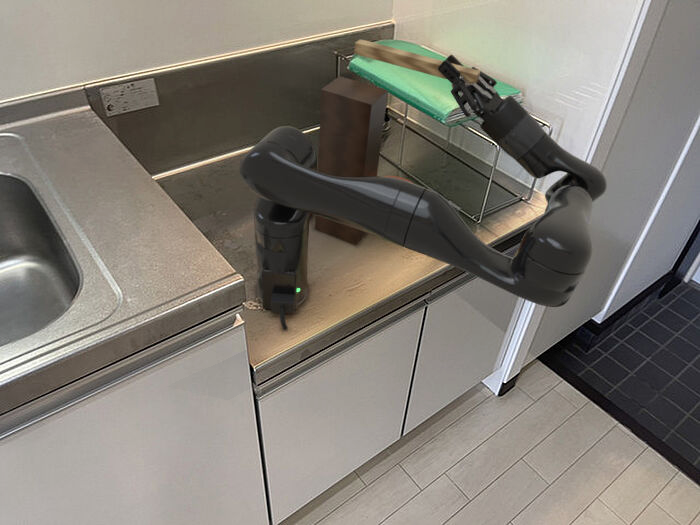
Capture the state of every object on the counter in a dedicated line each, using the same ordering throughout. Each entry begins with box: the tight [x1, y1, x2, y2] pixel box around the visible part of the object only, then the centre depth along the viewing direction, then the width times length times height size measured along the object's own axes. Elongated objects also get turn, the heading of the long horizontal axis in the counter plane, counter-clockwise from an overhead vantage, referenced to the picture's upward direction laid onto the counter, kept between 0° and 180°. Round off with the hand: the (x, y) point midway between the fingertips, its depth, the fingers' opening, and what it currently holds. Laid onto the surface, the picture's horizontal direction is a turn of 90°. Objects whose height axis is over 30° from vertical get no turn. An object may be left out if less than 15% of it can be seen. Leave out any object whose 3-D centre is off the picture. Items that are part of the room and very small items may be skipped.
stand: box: [314, 75, 389, 246], centre depth 108 cm, size 10×7×32 cm
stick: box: [353, 38, 481, 84], centre depth 100 cm, size 24×2×2 cm, turn 63°
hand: (444, 61), depth 97 cm, fingers closed on stick, 2 cm apart
